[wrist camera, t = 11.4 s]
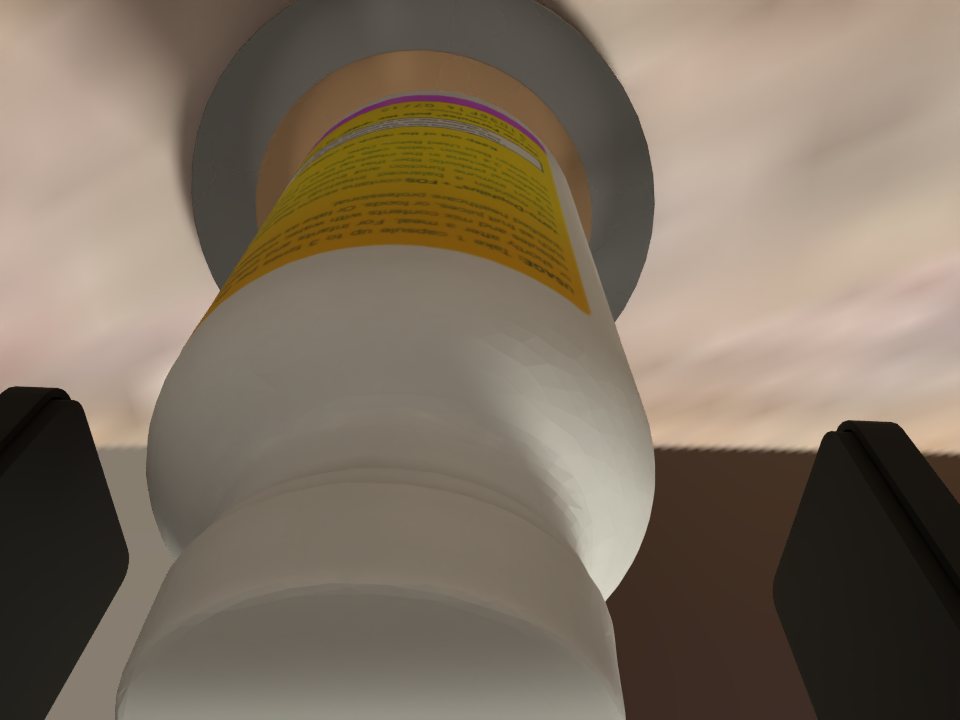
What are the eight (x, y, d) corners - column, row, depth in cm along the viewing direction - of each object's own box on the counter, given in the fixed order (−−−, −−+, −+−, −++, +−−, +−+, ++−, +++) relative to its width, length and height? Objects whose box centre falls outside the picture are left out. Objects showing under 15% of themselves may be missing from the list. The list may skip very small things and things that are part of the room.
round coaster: (683, -25, 16) (694, -22, 15) (618, 400, 21) (623, 419, 21) (161, -41, 15) (144, -39, 15) (237, 393, 21) (228, 411, 20)
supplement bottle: (238, 160, 17) (-209, 640, 6) (505, 27, 15) (584, 329, 4) (380, 383, 20) (267, 963, 9) (612, 290, 18) (812, 844, 8)
